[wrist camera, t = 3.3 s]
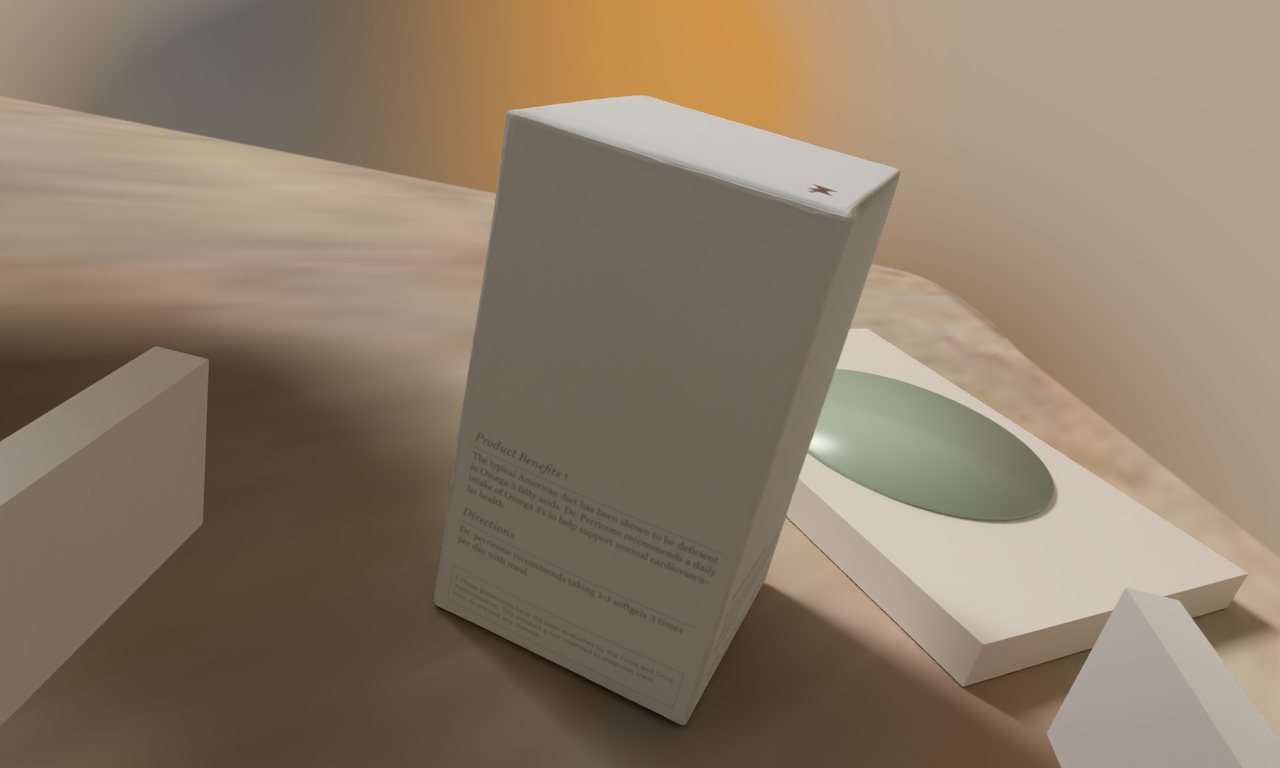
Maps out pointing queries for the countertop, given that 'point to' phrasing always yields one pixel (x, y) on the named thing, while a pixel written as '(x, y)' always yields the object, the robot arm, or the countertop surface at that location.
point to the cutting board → (979, 522)
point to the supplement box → (647, 382)
